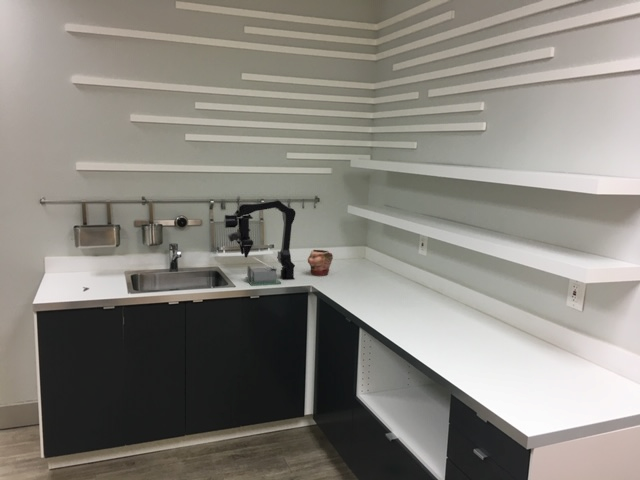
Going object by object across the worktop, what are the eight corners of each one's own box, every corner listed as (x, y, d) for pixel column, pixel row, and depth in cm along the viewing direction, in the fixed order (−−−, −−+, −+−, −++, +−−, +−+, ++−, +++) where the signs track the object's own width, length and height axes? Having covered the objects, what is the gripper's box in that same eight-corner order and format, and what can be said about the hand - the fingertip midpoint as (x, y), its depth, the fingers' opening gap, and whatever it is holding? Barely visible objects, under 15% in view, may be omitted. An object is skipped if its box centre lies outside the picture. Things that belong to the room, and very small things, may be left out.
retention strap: (273, 268, 285) (273, 267, 285) (275, 270, 281) (275, 269, 281) (252, 257, 280) (253, 256, 280) (254, 258, 276) (255, 257, 276)
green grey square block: (273, 277, 292) (273, 262, 290) (281, 284, 277) (281, 268, 276) (245, 278, 286) (245, 263, 285) (251, 285, 272) (251, 270, 270)
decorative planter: (322, 269, 315) (323, 247, 313) (338, 272, 308) (339, 249, 306) (302, 275, 299) (302, 251, 297) (319, 278, 292) (319, 254, 290)
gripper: (225, 225, 283) (226, 253, 286) (231, 230, 266) (232, 260, 269) (245, 224, 287) (246, 252, 290) (253, 229, 270) (253, 258, 272)
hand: (244, 255), depth 280 cm, fingers open, 9 cm apart
